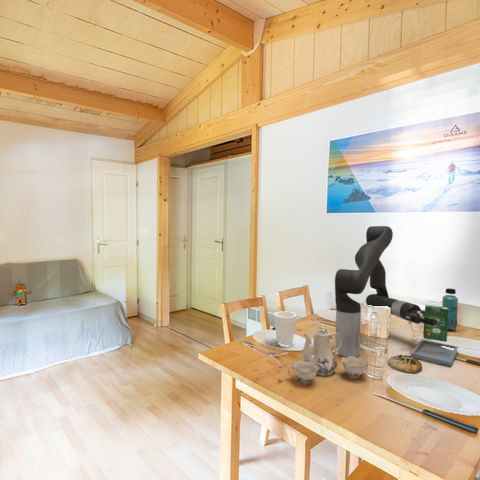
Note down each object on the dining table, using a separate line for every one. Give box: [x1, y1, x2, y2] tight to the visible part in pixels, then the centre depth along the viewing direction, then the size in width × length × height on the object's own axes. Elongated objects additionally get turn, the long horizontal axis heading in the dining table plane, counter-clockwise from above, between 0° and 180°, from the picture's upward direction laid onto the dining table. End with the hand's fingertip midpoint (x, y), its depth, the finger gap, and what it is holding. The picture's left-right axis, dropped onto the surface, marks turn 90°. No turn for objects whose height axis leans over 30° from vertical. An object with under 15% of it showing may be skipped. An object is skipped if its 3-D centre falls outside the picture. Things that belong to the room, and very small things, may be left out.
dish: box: [410, 338, 459, 369], centre depth 129 cm, size 19×13×2 cm
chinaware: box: [287, 324, 368, 385], centre depth 112 cm, size 28×17×17 cm, turn 107°
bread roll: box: [387, 354, 423, 374], centre depth 118 cm, size 11×11×5 cm
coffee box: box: [422, 304, 449, 343], centre depth 128 cm, size 8×3×13 cm, turn 63°
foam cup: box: [273, 310, 297, 345], centre depth 139 cm, size 10×9×13 cm
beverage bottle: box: [441, 288, 459, 330], centre depth 158 cm, size 6×7×20 cm
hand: (440, 322), depth 126 cm, fingers closed on coffee box, 7 cm apart
